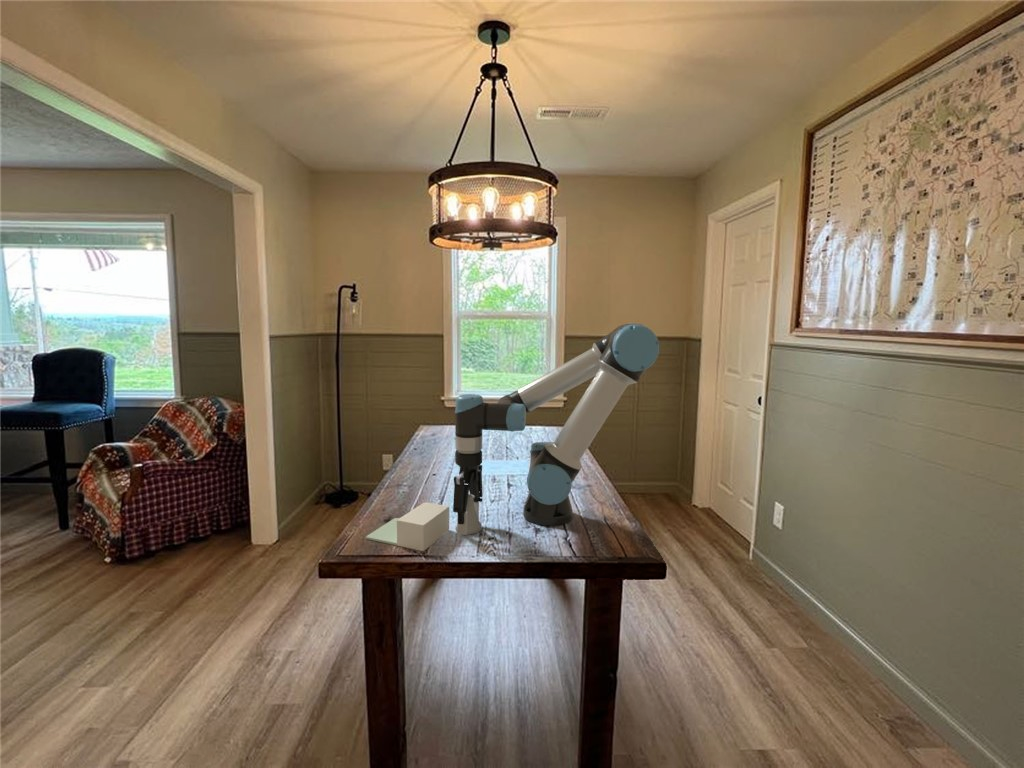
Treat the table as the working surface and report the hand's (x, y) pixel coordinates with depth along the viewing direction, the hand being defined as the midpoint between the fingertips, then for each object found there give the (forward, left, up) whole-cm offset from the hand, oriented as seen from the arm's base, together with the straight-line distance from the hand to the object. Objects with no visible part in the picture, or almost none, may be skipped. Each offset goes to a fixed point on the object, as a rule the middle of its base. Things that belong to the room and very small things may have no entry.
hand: (468, 528), depth 138 cm
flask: (0, 0, -1) cm, 1 cm away
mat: (+18, +9, -1) cm, 20 cm away
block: (+9, +9, -1) cm, 13 cm away
